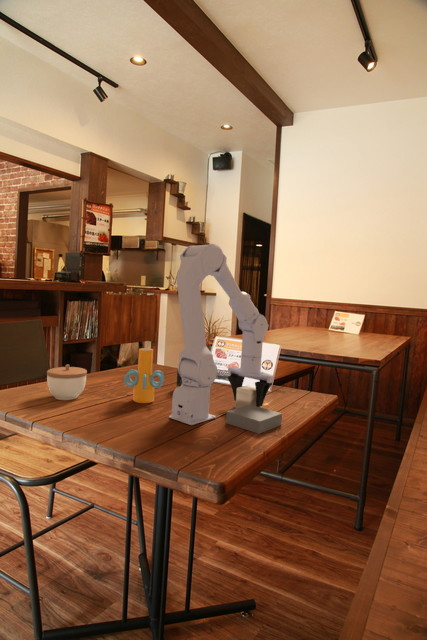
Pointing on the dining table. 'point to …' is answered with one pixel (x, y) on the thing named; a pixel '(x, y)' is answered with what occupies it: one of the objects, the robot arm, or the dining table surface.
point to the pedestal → (254, 418)
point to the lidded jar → (66, 382)
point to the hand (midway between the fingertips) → (248, 403)
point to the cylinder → (144, 378)
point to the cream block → (245, 396)
